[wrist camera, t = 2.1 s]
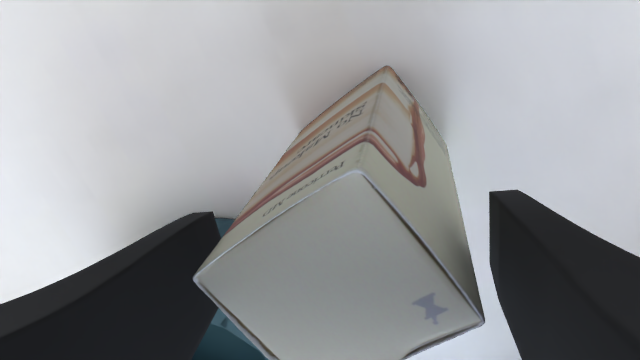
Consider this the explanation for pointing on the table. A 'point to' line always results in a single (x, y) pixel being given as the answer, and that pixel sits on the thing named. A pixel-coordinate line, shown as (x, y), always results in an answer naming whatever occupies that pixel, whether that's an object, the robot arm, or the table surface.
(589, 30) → the table surface
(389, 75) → the beige box
